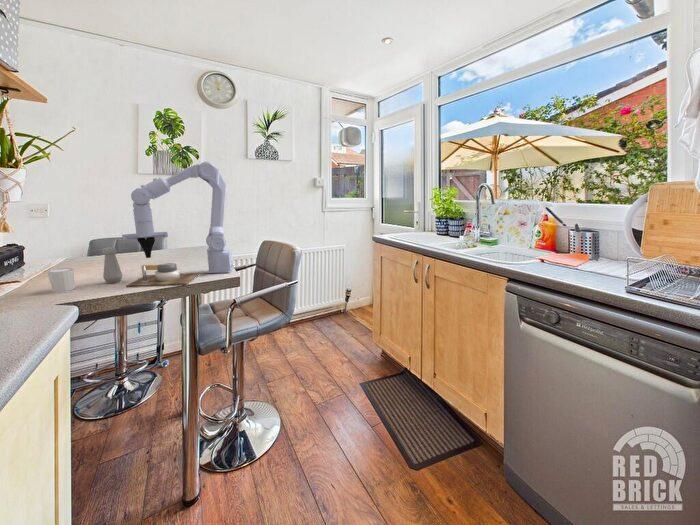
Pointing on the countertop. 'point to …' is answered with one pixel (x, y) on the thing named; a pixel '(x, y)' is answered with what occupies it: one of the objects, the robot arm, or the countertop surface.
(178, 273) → the jar
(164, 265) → the lid
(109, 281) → the salt shaker
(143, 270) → the stop pin
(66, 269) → the grey tapered cup
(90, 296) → the countertop surface
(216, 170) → the robot arm
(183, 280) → the board
